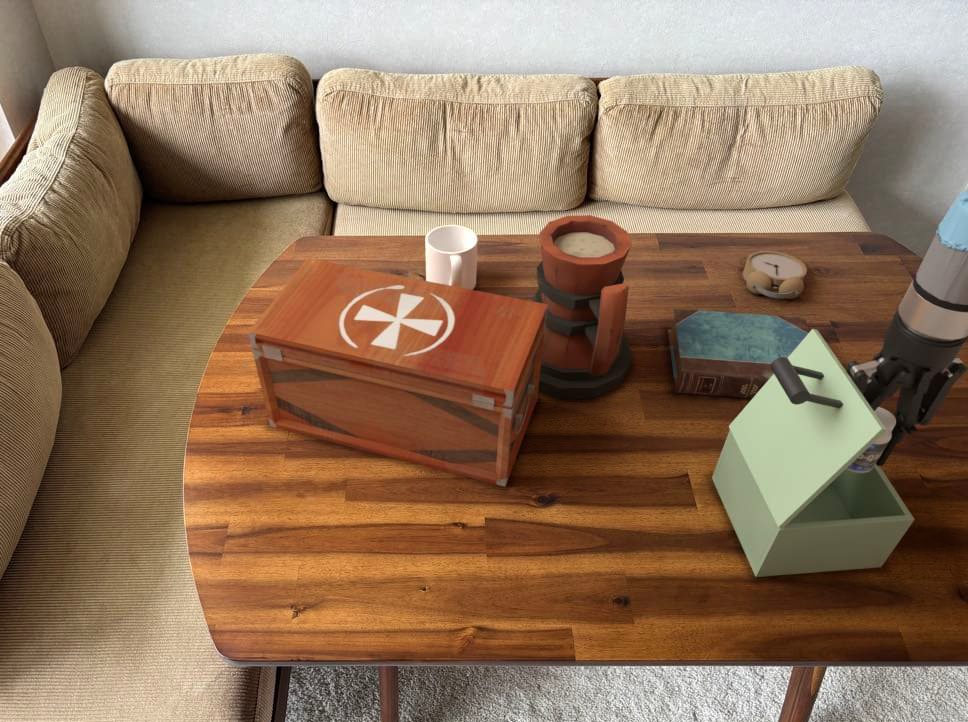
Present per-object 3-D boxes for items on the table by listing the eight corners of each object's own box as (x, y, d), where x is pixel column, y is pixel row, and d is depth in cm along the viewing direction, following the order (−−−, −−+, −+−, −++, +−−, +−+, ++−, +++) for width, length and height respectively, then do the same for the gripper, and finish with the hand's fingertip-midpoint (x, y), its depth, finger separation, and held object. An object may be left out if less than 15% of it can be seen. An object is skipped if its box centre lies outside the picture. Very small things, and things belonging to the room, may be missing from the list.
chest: (824, 469, 118) (850, 420, 110) (881, 567, 105) (914, 519, 98) (711, 478, 117) (729, 429, 109) (755, 577, 105) (779, 529, 97)
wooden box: (321, 349, 140) (306, 256, 126) (539, 398, 130) (550, 303, 116) (268, 426, 127) (245, 331, 113) (507, 487, 116) (515, 392, 102)
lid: (817, 329, 97) (765, 316, 95) (887, 430, 85) (829, 417, 83) (732, 427, 109) (685, 417, 107) (783, 528, 97) (730, 519, 94)
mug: (423, 271, 157) (422, 227, 150) (471, 266, 158) (472, 222, 151) (431, 308, 148) (430, 263, 141) (482, 303, 149) (484, 258, 142)
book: (675, 394, 130) (682, 372, 127) (667, 329, 142) (673, 307, 139) (816, 406, 128) (827, 384, 124) (796, 338, 140) (805, 316, 136)
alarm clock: (805, 255, 154) (812, 286, 142) (797, 277, 156) (803, 310, 145) (746, 246, 156) (748, 276, 144) (740, 269, 159) (741, 300, 147)
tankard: (599, 310, 147) (619, 194, 130) (660, 398, 130) (693, 277, 112) (490, 330, 143) (495, 214, 126) (537, 423, 126) (552, 303, 109)
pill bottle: (842, 474, 101) (866, 430, 95) (830, 447, 104) (853, 403, 98) (879, 474, 101) (906, 430, 95) (865, 447, 104) (891, 403, 98)
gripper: (989, 296, 89) (905, 434, 105) (839, 306, 88) (778, 443, 105) (1030, 338, 84) (935, 476, 100) (871, 348, 83) (801, 486, 99)
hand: (855, 459), depth 102 cm, fingers closed on pill bottle, 5 cm apart
